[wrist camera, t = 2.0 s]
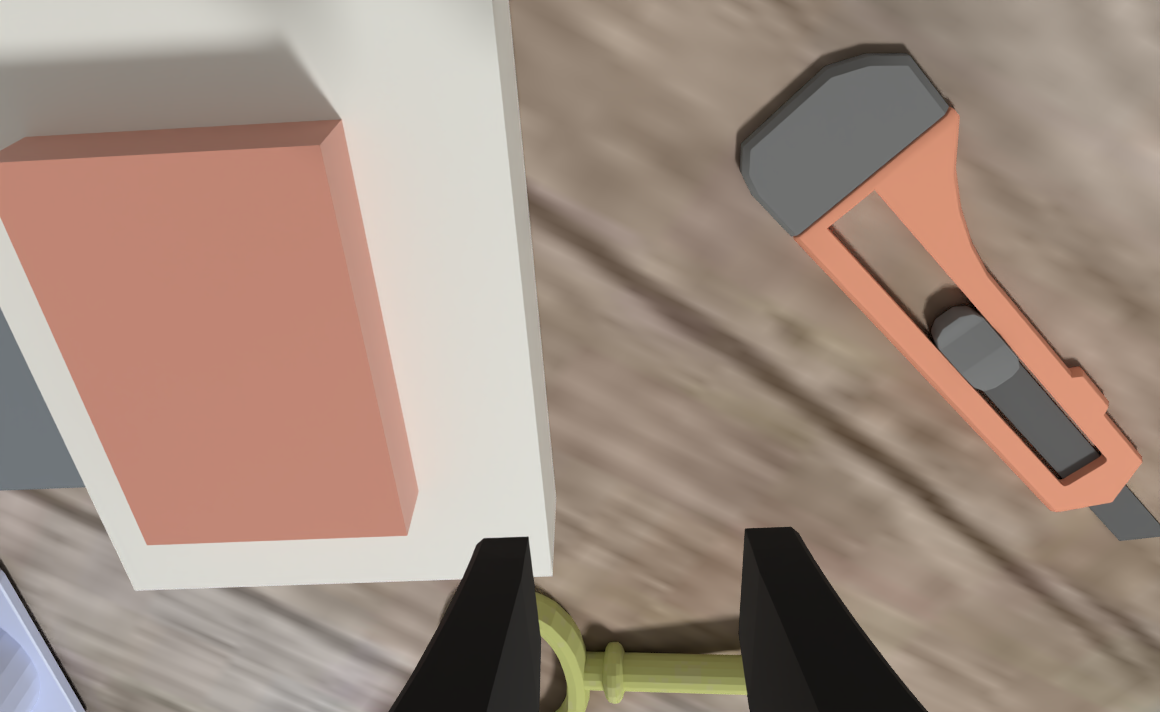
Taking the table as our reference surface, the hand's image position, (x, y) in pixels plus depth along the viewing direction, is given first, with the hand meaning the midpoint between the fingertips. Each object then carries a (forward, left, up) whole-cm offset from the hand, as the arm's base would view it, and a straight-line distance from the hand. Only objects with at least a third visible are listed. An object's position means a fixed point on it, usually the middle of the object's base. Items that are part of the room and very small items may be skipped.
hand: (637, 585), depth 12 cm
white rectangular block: (-8, 0, -10) cm, 13 cm away
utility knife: (+10, -3, -11) cm, 15 cm away
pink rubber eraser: (-8, 0, -7) cm, 11 cm away
